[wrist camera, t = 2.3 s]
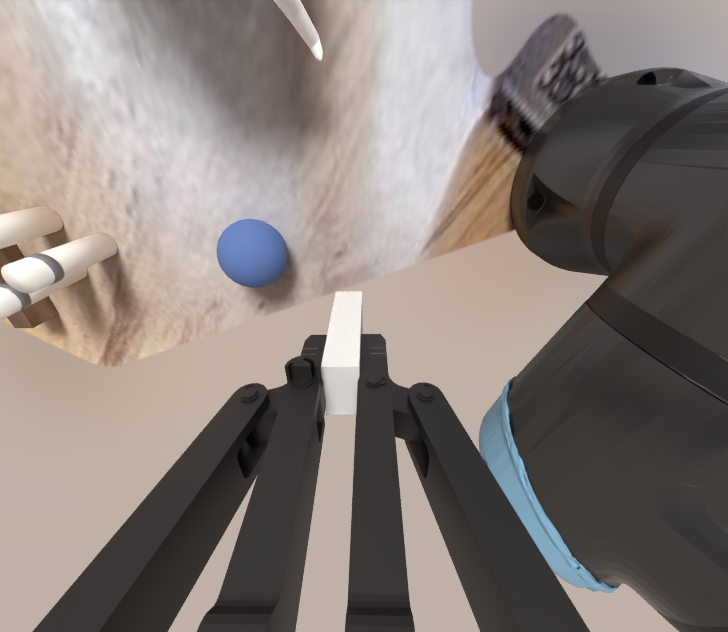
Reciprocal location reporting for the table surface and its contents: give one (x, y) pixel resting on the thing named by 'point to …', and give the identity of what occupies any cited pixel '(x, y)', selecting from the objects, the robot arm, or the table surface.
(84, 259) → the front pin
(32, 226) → the pin
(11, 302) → the pin
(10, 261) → the back wall
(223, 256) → the ball
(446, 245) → the table surface
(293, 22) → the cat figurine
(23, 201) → the table surface
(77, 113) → the table surface
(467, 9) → the table surface
